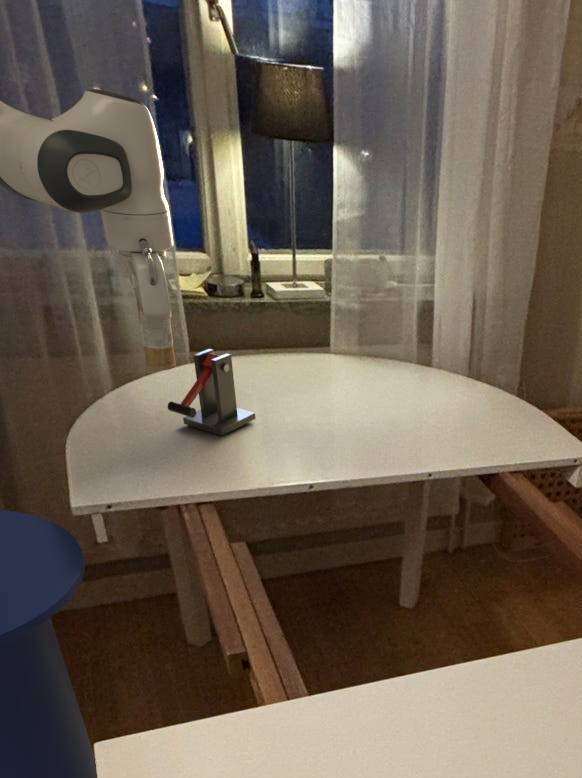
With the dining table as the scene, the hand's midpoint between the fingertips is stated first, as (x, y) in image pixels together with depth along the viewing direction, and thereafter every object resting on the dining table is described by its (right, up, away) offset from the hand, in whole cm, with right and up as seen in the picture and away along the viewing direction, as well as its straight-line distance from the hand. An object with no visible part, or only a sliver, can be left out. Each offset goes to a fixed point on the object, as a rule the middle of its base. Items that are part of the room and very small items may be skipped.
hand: (155, 332), depth 116 cm
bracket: (-1, -4, +32) cm, 32 cm away
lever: (-2, -1, +24) cm, 25 cm away
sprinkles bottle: (-1, -4, +3) cm, 5 cm away
